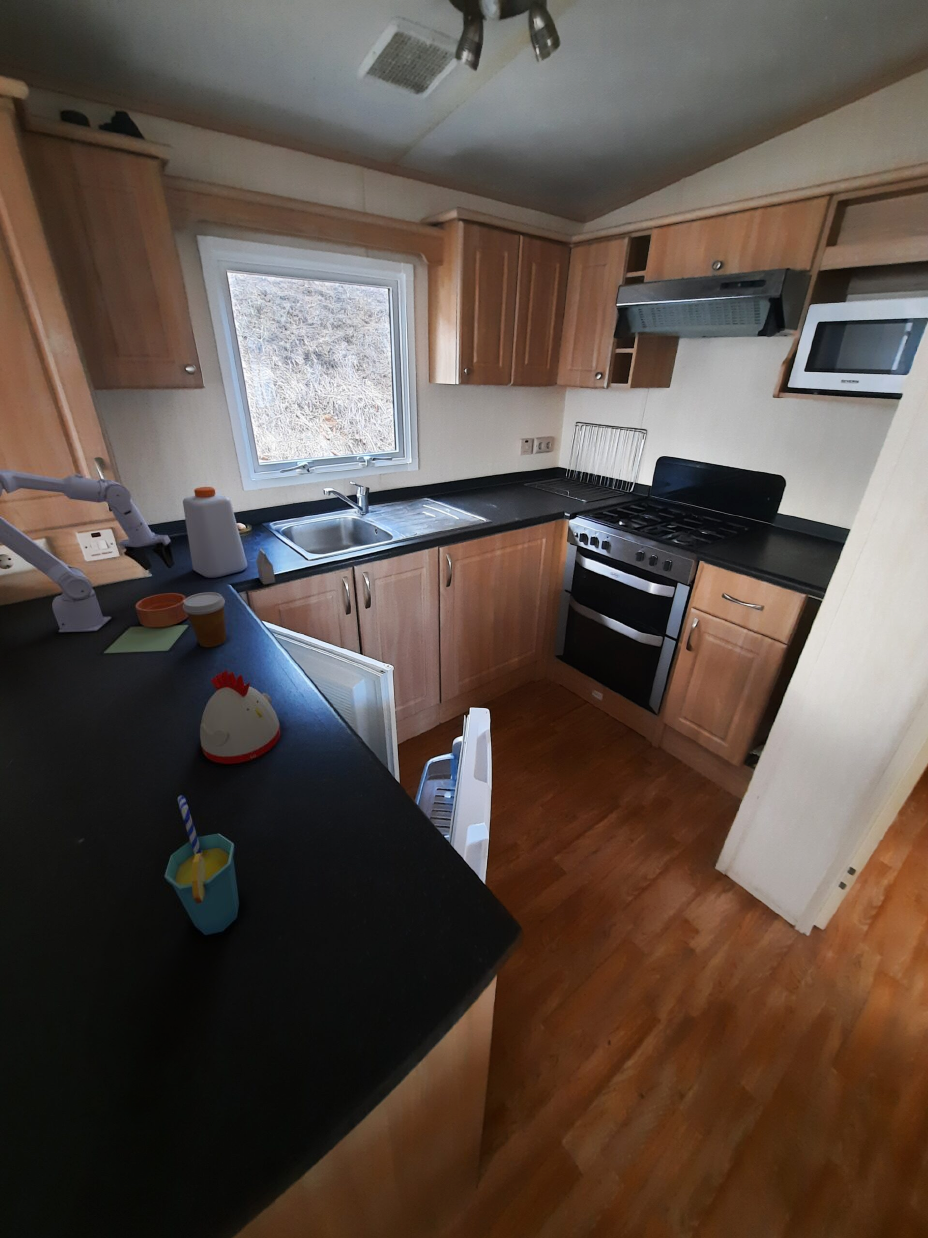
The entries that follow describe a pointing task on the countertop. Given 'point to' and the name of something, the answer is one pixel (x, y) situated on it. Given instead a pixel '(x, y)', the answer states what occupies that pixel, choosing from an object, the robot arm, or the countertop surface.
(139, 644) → the mat
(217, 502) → the plastic bottle
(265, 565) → the beige gable carton
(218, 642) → the disposable coffee cup
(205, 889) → the cup
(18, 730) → the countertop surface
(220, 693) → the kitchen timer
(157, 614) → the bowl
